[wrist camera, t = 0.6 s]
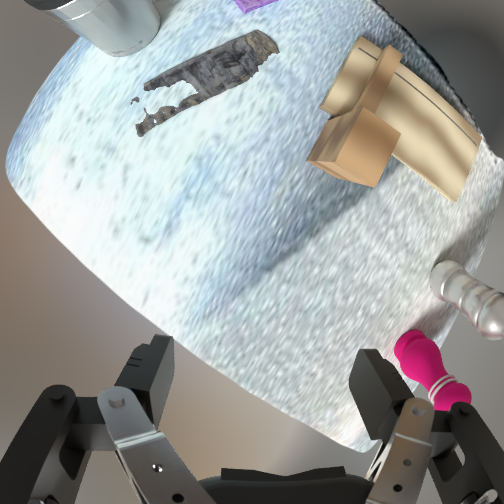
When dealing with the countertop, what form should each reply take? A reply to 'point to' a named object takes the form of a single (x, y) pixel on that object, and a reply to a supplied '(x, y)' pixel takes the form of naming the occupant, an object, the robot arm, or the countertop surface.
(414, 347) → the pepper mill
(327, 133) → the block
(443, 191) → the pine board
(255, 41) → the driftwood
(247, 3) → the sponges
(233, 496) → the robot arm
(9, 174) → the countertop surface
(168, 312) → the countertop surface
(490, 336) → the plastic bottle
